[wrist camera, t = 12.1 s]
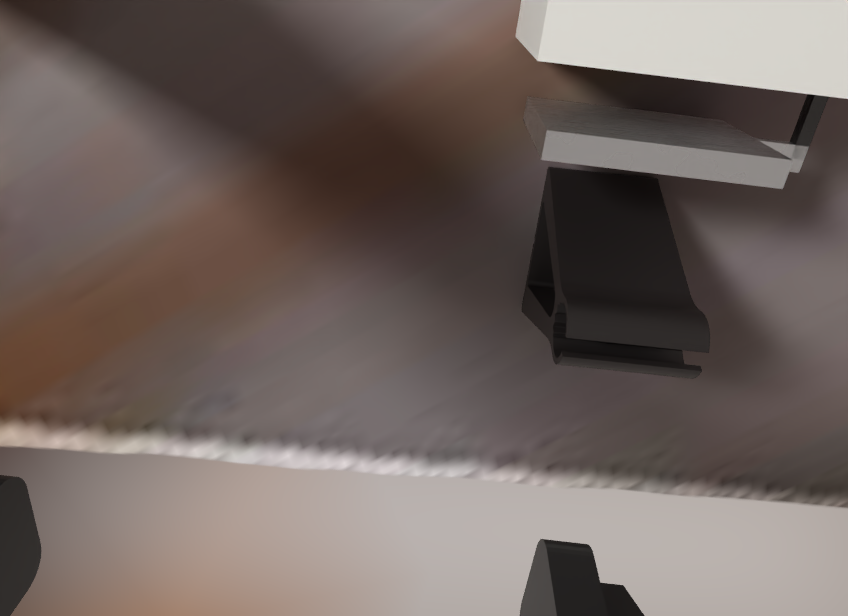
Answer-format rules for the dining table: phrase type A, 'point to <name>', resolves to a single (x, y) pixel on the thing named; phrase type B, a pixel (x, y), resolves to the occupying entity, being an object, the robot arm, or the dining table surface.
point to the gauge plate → (667, 142)
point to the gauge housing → (698, 40)
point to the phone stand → (611, 277)
